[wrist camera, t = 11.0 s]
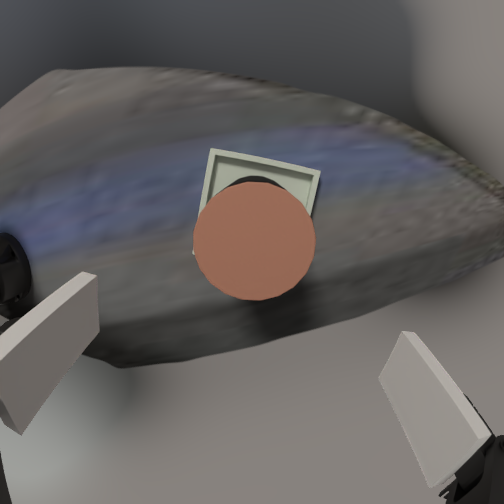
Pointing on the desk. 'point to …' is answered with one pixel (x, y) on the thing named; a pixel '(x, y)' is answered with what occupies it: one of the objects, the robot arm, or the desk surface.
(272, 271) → the coffee jar
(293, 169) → the sage tray
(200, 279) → the desk surface
